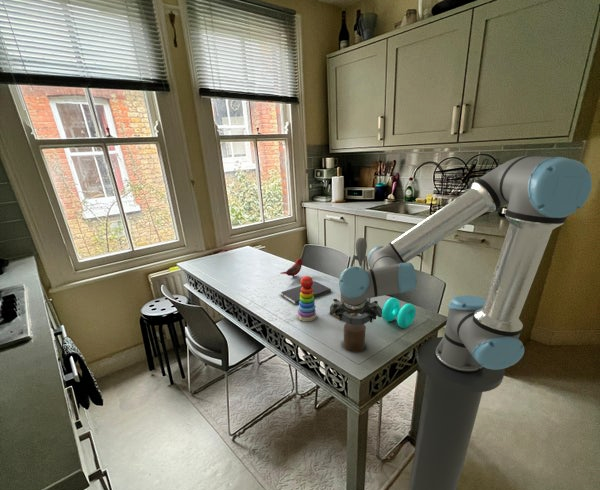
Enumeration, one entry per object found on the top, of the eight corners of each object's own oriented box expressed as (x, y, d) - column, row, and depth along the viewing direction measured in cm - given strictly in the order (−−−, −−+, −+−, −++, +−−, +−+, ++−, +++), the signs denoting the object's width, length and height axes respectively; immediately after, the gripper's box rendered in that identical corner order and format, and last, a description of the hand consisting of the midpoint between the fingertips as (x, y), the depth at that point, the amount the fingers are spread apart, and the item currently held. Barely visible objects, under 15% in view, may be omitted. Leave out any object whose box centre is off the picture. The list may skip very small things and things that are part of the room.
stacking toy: (313, 323, 129) (312, 281, 122) (295, 320, 132) (292, 279, 124) (318, 314, 136) (318, 274, 128) (301, 311, 139) (299, 272, 131)
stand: (369, 345, 114) (370, 326, 111) (355, 354, 110) (356, 335, 106) (353, 337, 119) (353, 318, 116) (339, 345, 115) (339, 326, 112)
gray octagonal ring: (375, 317, 109) (375, 311, 108) (357, 328, 103) (357, 321, 102) (354, 308, 116) (354, 302, 115) (335, 317, 110) (335, 311, 109)
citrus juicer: (361, 295, 151) (363, 233, 139) (377, 301, 144) (382, 238, 132) (344, 302, 145) (346, 239, 132) (361, 310, 138) (364, 244, 125)
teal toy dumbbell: (393, 314, 133) (395, 293, 129) (415, 323, 126) (418, 301, 122) (379, 323, 127) (381, 301, 123) (401, 333, 120) (404, 310, 116)
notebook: (295, 304, 145) (330, 291, 156) (295, 301, 144) (330, 288, 155) (280, 295, 155) (315, 283, 165) (280, 292, 154) (314, 281, 165)
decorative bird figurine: (305, 274, 177) (304, 257, 173) (282, 284, 166) (281, 266, 162) (301, 273, 179) (301, 256, 175) (278, 283, 168) (277, 265, 164)
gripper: (315, 308, 94) (323, 325, 114) (394, 312, 89) (388, 330, 109) (317, 284, 96) (325, 306, 117) (394, 287, 91) (388, 309, 112)
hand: (355, 317), depth 113 cm, fingers closed on gray octagonal ring, 10 cm apart
